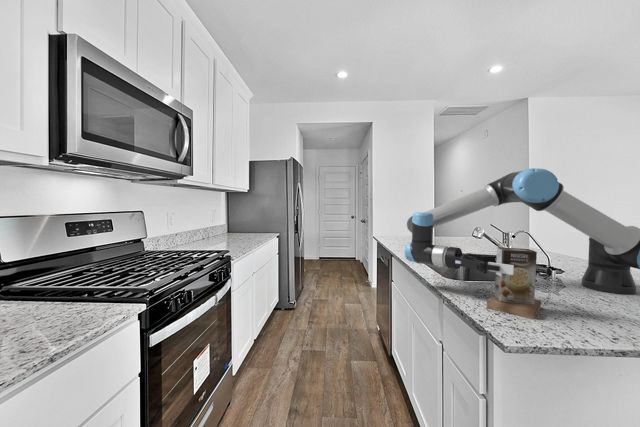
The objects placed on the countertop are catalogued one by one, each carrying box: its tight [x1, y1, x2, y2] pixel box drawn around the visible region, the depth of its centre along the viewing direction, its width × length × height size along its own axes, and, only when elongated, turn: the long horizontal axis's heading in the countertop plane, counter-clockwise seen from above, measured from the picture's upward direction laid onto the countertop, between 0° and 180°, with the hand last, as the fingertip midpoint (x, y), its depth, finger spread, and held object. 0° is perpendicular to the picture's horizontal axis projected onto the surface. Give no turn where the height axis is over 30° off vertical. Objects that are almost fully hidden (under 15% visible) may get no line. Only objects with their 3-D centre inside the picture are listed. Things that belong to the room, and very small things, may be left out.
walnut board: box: [486, 293, 542, 320], centre depth 91 cm, size 12×12×2 cm
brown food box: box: [494, 246, 538, 305], centre depth 91 cm, size 9×6×16 cm
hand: (518, 266), depth 90 cm, fingers open, 13 cm apart
